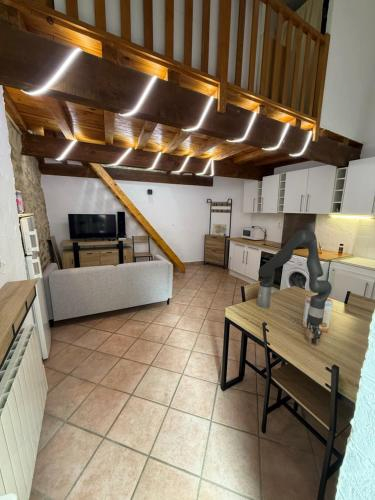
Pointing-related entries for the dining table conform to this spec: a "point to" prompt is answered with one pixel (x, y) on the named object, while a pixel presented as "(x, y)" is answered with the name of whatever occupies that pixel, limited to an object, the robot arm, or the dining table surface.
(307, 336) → the walnut block
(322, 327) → the cracker box
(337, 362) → the dining table surface
